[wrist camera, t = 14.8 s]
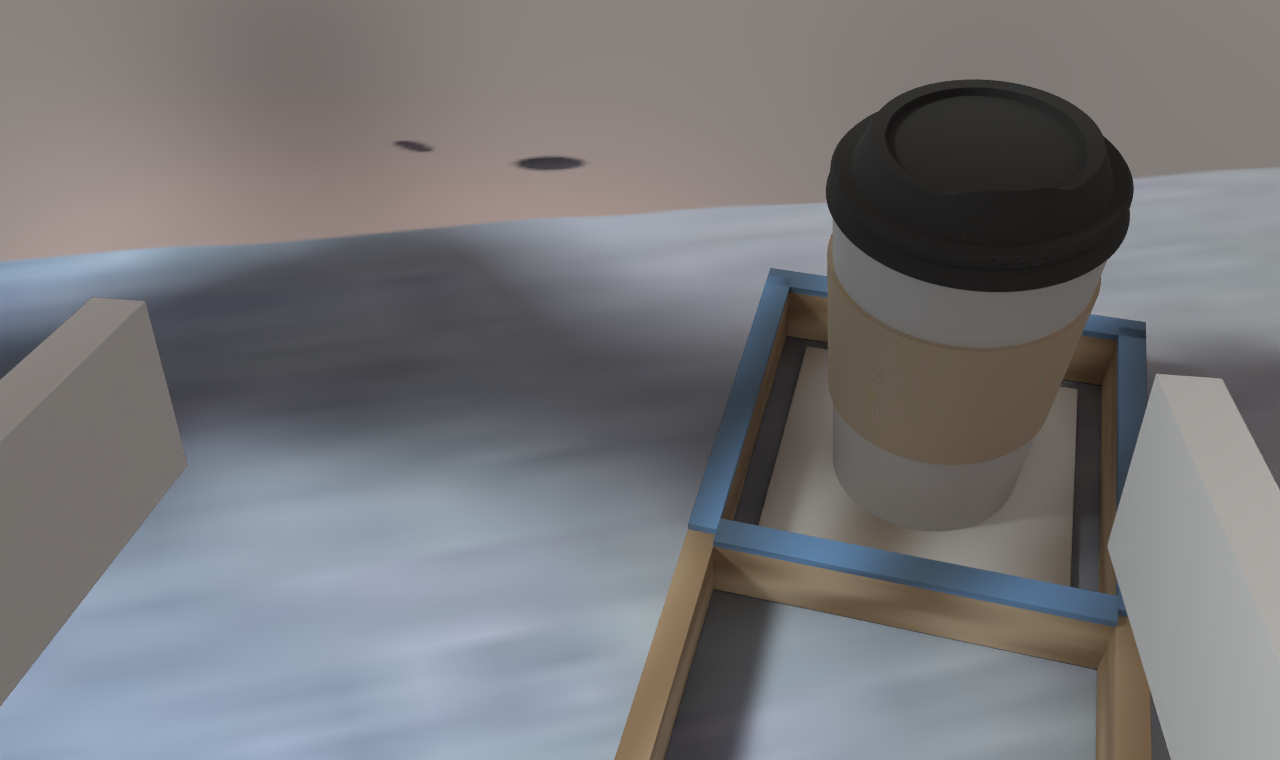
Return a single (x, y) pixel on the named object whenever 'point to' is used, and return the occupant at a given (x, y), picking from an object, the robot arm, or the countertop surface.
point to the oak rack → (907, 533)
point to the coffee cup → (960, 289)
